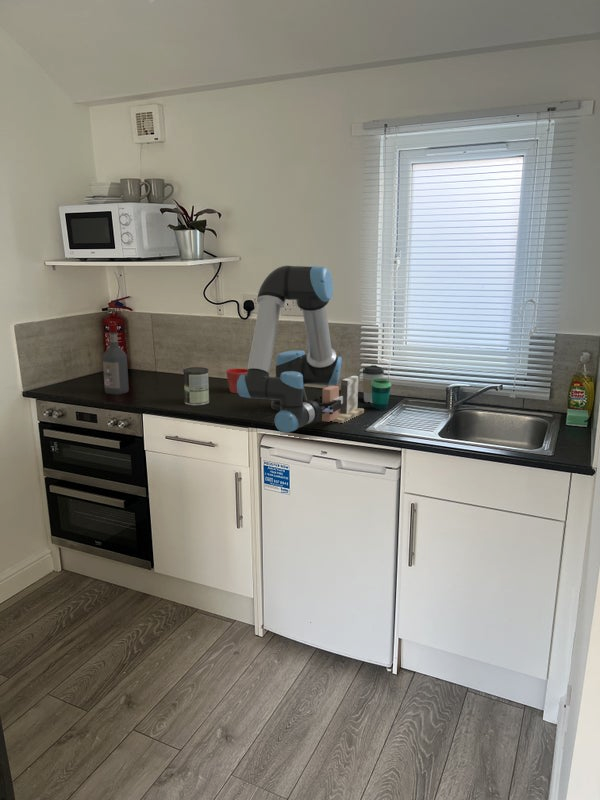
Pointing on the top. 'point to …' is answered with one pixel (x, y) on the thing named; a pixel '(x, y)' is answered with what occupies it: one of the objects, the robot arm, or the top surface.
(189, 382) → the coffee can
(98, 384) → the top surface
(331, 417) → the salmon orange block
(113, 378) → the liquor
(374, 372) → the coffee cup
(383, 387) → the cup
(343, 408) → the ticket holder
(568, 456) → the top surface
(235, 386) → the flower pot
